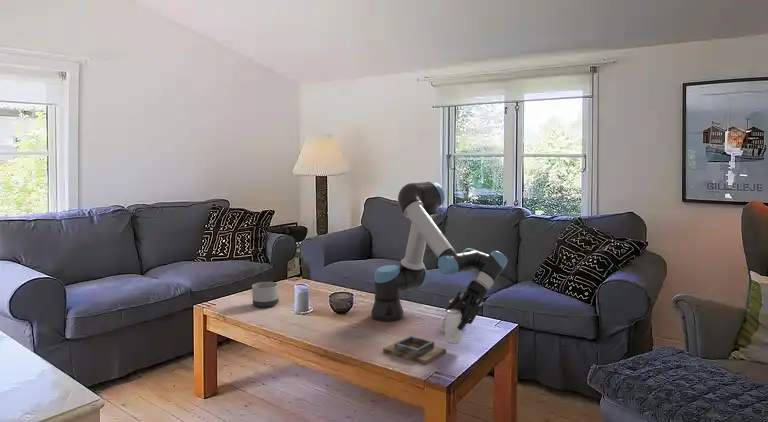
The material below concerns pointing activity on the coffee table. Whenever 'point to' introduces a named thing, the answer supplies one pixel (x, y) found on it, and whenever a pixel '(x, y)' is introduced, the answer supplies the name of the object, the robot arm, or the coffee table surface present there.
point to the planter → (265, 294)
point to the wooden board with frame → (415, 350)
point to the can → (452, 325)
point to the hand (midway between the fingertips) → (446, 332)
